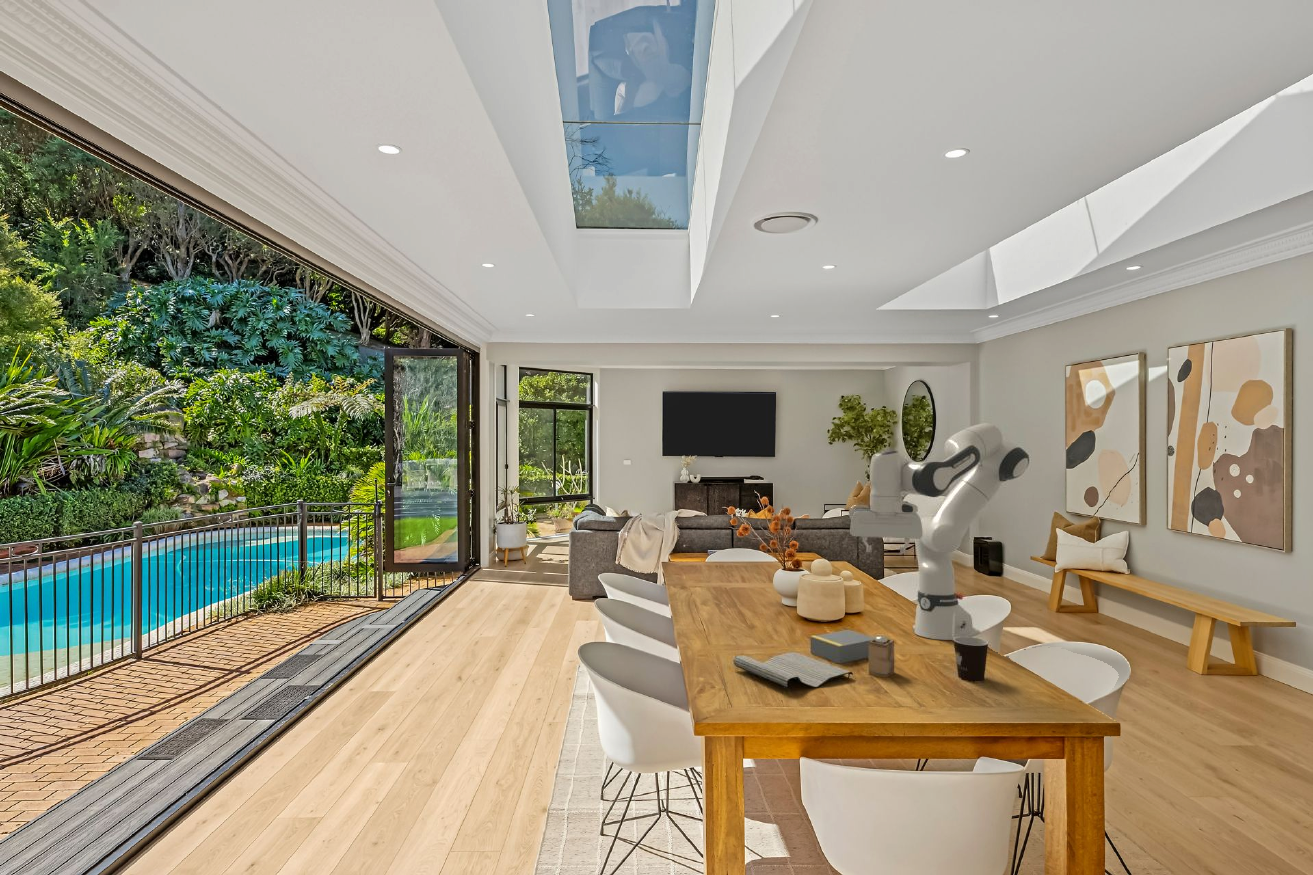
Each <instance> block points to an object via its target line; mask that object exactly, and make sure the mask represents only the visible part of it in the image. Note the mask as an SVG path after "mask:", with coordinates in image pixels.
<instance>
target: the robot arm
mask: <svg viewBox="0 0 1313 875" xmlns="http://www.w3.org/2000/svg"><path fill="white" fill-rule="evenodd" d="M944 455H945V457H946V459H944V460H942V461H928V462H927V461H926V462H925V461H911V460H909V459H907V458H905V457H904V456H902V454H900V452H899V450H895V449H893V450H891V449H890V450H881V451H878V452H876V453H875V452H874V454H873V455H872V457H871V460H870V466H869V483H870V485H871V487H870V492H869V504H861V505H860V504H854V505H853V506H851V507H850V508H849V509H848V516H849V519H850V525H849V526H850V527H849V533H850V535H851V536H852V537H861V538H862V539H861V540H862V542H863V545H864V546H865V547H866V553H872V545H869V544H868V542H867V541H868V537H869V538H886V539H887V538H891V539H892V538H893V539H903V541H904V542H905V543H904V544H903V546H900V548H899V549H900V550H899V551H900V552H899V554H901V555H906V551H907V550H906V549H907V547H908V546H909V544H910V542H911V541H910V539H914V544H915V552H916V558H917V563H918V591H917V602H918V604H917V606H916V610H915V619H914V620H915V622H914V624H913V625H912V629H913V630H914V634H915V635H918V636H920V637H921V638H922V637H924V638H927V639H933V640H941V641H953V639H954V638H956V637H976V636H978V635H981V630H980V629H979V628H976V627H973V618H972V615H971V614H970V613H969V612H968V611H967V610H966V609H965V608H963V607H962V606H961V605H960V604H959V600H963V599H964V595H963V593H961V592H960V593H959V592H956V591H955V568H954V565H953V562H952V557H951V553H953V552H955V551H956V550H958V549H959V548H960V546H961V544H962V540H963V538H964V536H965V535H966V533H967V531H968V529H969V528H970V525H971V524H972V522H974V519H975V518H976V517H978V515H979V514H980V513H981V511H982V510H984V508H985V507H986V506H987V505H988V503H989V502H991V500H992V499H993V498H994V496H995V495H996V493H997V492H998V491H999V490H1000V488H1001V486H1002V484H1003V483H1004V482H1007V481H1012V480H1014V479H1017V478H1019V477H1020V476H1021V475H1022V474H1023V473H1025V471H1026V470H1027V468H1028V466H1029V464H1030V456H1029V454H1028V453H1027V452H1026V451H1025V450H1024V449H1023V448H1021V447H1019V446H1017V445H1015V444H1014V443H1013V442H1011V441H1010V440H1008V439H1006V438H1004V437H1003V434H1002V432H1001V430H1000V429H999V428H998V427H997V426H996V425H995V424H992V423H989V422H983V423H979V424H975V425H971V426H968V427H966V428H964V429H962V430H959V431H958V432H956V433H954V434H952V435H951V436H949V438H947V439H946V441H945V443H944ZM963 475H964V476H963ZM962 476H963V477H962ZM961 477H962V478H961ZM959 478H961V480H959V482H958V483H957V484H956V485H955V486H954V487H953V488H952V489H951V491H950V492H949V493H948V494H947V495H946V497H945V498H944V501H943V503H942V505H941V506H940V508H939V510H938V511H937V513H936V515H935V516H924V517H922V518H921V517H920V515H919V514H918V510H919V508H918V507H919V506H917V505H916V504H914V503H910V502H908V501H906V500H905V501H904V500H902V497H903V496H902V494H907V495H909V494H910V495H918V496H925V497H930V498H938V497H940V496H942V495H943V494H944V493H945V492H946V491H947V490H948V489H949V487H950V486H952V484H953V483H954V482H955V481H956V480H957V479H959Z"/></svg>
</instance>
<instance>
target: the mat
mask: <svg viewBox="0 0 1313 875" xmlns="http://www.w3.org/2000/svg"><path fill="white" fill-rule="evenodd" d="M732 662H733V665H734V666H735V667H736V668H738V669H741V670H744V671H746V672H748V673H751V674H753V675H756V676H759V677H761V678H764V679H766V680H768V681H770V682H772V683H776V684H778V685H781V686H783V687H784V689H785V692H786V693H788V690H787V688H788V687H789V684H788V683H789V681H790V680H793V679H794V680H795V681H797V682H799V683H801V684H803V685H806V686H808V687H811V688H819V687H821V686H823V684H825V683H827V682H829V680H831V679H835V678H839V677H842V676H845V675H848V676H847V678H848V679H850V677H851V676H850V675H854V672H852V671H850V670H848V669H844V668H841V667H839V666H837V665H832V664H830V663H827V662H824V661H822V660H818V659H815V658H814V657H810V656H807V655H804V654H802V653H798V652H795V651H793V652H792V651H791V652H787V653H782V654H778V655H777V654H776V655H774V656H772V657H771V658H769V659H767V660H766V661H763V662H762V661H759V660H756V659H753V658H751V657H749V656H746V655H744V654H740V655H736V656H734V658H733V661H732Z"/></svg>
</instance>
